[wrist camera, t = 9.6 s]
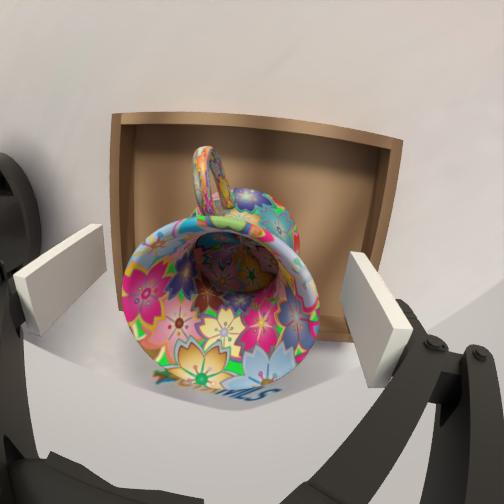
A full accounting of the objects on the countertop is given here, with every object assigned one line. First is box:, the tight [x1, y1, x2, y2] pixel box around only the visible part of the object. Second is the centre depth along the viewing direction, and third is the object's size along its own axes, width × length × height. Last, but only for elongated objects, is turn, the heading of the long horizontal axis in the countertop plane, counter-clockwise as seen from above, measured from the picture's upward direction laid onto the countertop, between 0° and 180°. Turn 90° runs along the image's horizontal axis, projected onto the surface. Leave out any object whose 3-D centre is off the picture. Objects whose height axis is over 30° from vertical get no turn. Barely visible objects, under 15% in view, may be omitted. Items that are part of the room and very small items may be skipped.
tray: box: [110, 112, 403, 343], centre depth 22 cm, size 20×16×3 cm
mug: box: [122, 146, 320, 390], centre depth 18 cm, size 12×9×11 cm
